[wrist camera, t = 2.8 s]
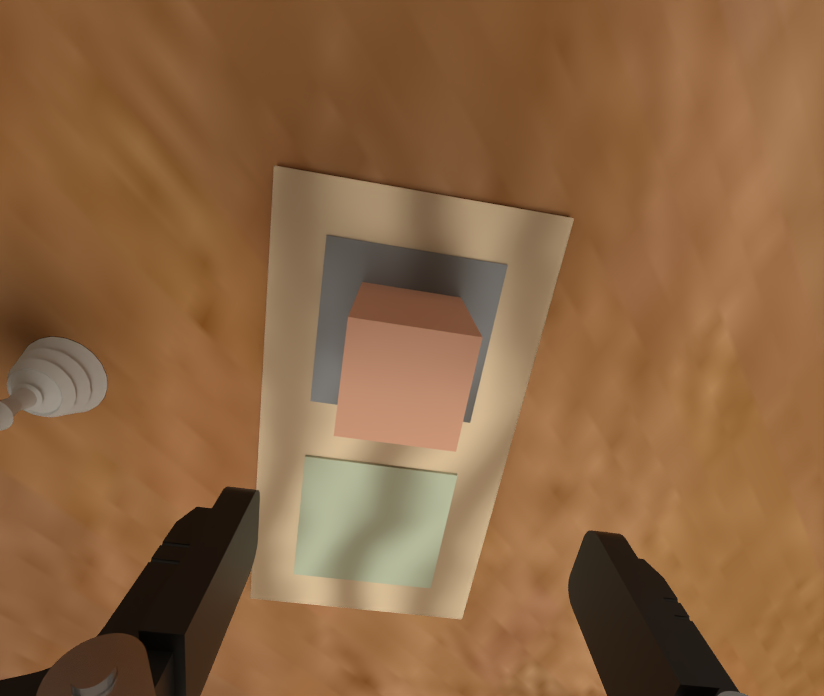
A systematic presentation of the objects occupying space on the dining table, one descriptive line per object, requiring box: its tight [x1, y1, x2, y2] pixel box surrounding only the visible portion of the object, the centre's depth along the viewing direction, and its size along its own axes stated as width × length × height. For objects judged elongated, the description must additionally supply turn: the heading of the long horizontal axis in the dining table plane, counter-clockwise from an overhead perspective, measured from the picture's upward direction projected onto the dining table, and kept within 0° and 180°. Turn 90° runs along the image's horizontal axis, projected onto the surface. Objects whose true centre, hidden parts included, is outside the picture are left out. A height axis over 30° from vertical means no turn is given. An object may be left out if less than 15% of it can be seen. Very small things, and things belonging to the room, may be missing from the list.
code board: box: [250, 165, 574, 619], centre depth 28 cm, size 16×30×1 cm, turn 171°
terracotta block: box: [334, 282, 483, 452], centre depth 22 cm, size 6×6×7 cm
